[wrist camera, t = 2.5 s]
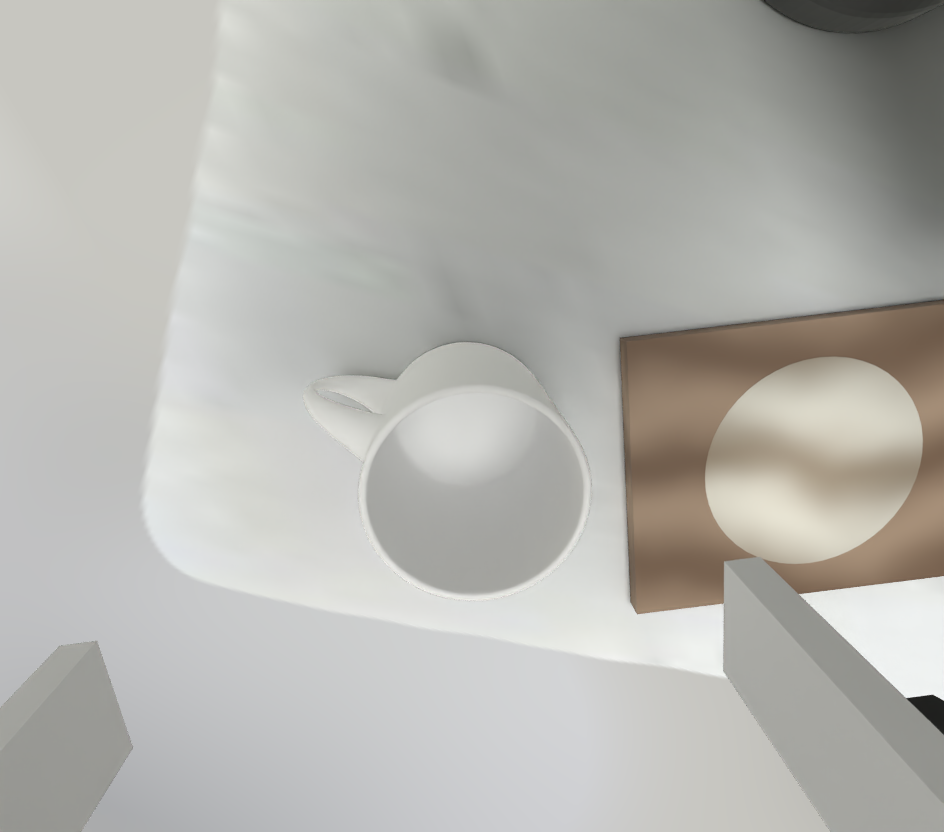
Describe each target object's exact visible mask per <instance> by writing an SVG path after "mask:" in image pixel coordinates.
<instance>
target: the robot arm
mask: <svg viewBox="0 0 944 832" xmlns="http://www.w3.org/2000/svg"><path fill="white" fill-rule="evenodd" d="M765 1H766V2H767V3H768V4H770V5H771V6H772V7H774V8H775V9H776V10H778V11H779V12H781V13H782V14H784V15H786V16H787V17H789V18H791V19H793V20H795V21H797V22H800V23H802V24H805V25H807V26H810V27H814V28H817V29H821V30H826V31H832V32H841V33H858V32H869V31H875V30H880V29H885V28H889V27H892V26H895V25H898V24H901V23H904V22H906V21H909V20H911V19H914V18H916V17H918V16H920V15H922V14H924V13H926V12H928V11H930V10H932V9H934V8H936V7H938V6H940V5H942V4H944V0H765ZM723 671H724V673H725V674H726V676H727V677H728V679H729V680H730V682H731V683H732V685H733V686H734V688H735V689H736V691H737V692H738V694H739V695H740V697H741V698H742V700H743V701H744V703H745V704H746V706H747V707H748V709H749V710H750V712H751V713H752V715H753V716H754V718H755V719H756V721H757V722H758V724H759V725H760V727H761V728H762V730H763V731H764V733H765V734H766V736H767V737H768V739H769V740H770V742H771V743H772V745H773V746H774V748H775V749H776V751H777V752H778V754H779V755H780V757H781V758H782V760H783V761H784V763H785V764H786V766H787V767H788V769H789V770H790V772H791V773H792V775H793V776H794V778H795V779H796V781H797V782H798V784H799V785H800V787H801V788H802V790H803V791H804V793H805V794H806V796H807V797H808V799H809V800H810V802H811V803H812V805H813V806H814V808H815V809H816V811H817V812H818V814H819V815H820V817H821V818H822V820H823V821H824V823H825V824H826V826H827V827H828V829H829V830H830V832H944V701H943V700H941V699H940V698H938V697H936V696H934V695H927V696H920V697H912V698H905V697H904V696H903V695H902V694H901V693H900V692H899V691H898V690H897V689H896V688H895V687H894V686H893V685H892V684H891V683H890V682H889V681H888V680H887V679H886V678H885V677H884V676H882V675H881V674H880V673H879V672H878V671H877V670H876V669H875V668H874V667H873V666H872V665H871V664H870V663H869V662H868V661H867V660H866V659H865V658H864V657H863V656H862V655H861V654H860V653H859V652H858V651H857V650H856V649H855V648H854V647H853V646H852V645H850V644H849V643H848V642H847V641H846V640H845V639H844V638H843V637H842V636H841V635H840V634H839V633H838V632H837V631H836V630H835V629H834V628H833V627H832V626H831V625H830V624H829V623H828V622H827V621H826V620H825V619H824V618H823V617H822V616H821V615H820V614H818V613H817V612H816V611H815V610H814V609H813V608H812V607H811V606H810V605H809V604H808V603H807V602H806V601H805V600H804V599H803V598H802V597H801V596H800V595H799V594H798V593H797V592H796V591H795V590H794V589H793V588H792V587H791V586H790V585H789V584H788V583H786V582H785V581H784V580H783V579H782V578H781V577H780V576H779V575H778V574H777V573H776V572H775V571H774V570H773V569H772V568H771V567H770V566H769V565H768V564H767V563H766V562H765V561H764V560H763V559H762V558H761V557H755V558H747V559H739V560H731V561H724V645H723ZM132 749H133V746H132V744H131V740H130V737H129V734H128V731H127V728H126V726H125V723H124V719H123V717H122V714H121V711H120V708H119V705H118V702H117V699H116V696H115V693H114V690H113V687H112V684H111V681H110V678H109V675H108V672H107V669H106V666H105V663H104V660H103V657H102V654H101V651H100V648H99V645H98V642H97V641H92V642H84V643H77V644H70V645H61V646H59V647H58V648H57V649H56V650H55V651H54V652H53V653H52V654H51V655H50V656H49V657H48V659H47V660H45V662H44V663H43V664H42V665H41V666H40V667H39V668H38V669H37V670H36V671H35V672H34V673H33V674H32V675H31V676H30V677H29V678H28V679H27V680H26V681H25V682H24V683H23V685H22V686H21V687H20V688H19V689H18V690H17V691H16V692H15V693H14V694H13V695H12V696H11V697H10V698H9V699H8V700H7V701H6V702H5V703H4V704H3V705H2V706H1V708H0V832H81V831H82V830H83V828H84V826H85V825H86V823H87V822H88V820H89V818H90V817H91V815H92V814H93V812H94V810H95V809H96V807H97V805H98V804H99V802H100V801H101V799H102V797H103V796H104V794H105V792H106V791H107V789H108V788H109V786H110V784H111V783H112V781H113V779H114V778H115V776H116V775H117V773H118V771H119V770H120V768H121V766H122V765H123V763H124V762H125V760H126V758H127V757H128V755H129V754H130V752H131V750H132Z"/></svg>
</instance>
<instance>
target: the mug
mask: <svg viewBox="0 0 944 832" xmlns="http://www.w3.org/2000/svg"><path fill="white" fill-rule="evenodd" d="M319 390H326V391H332V392H336V393H338V394H341V395H344V396H346V397H349V398H351V399H353V400H355V401H357V402H358V403H360V404H362V405H363V406H365V407H367V408H368V409H369V410H371V411H372V412H374V413H372V412H368V411H363V410H360V409H356V408H353V407H349V406H346V405H343V404H340V403H338V402H335V401H332V400H330V399H328V398H326V397H323V396H322V395H320V394H319V393H317V392H316V391H319ZM303 400H304V404H305V407H306V409H307V410H308V412H309V414H310V415H311V417H312V418H313V419H314V420H315V421H316V422H317V424H318V425H319V426H320V427H322V428H323V429H324V430H325V431H326V432H327V433H328V434H329V435H330V436H331V437H333V438H334V439H335V440H336V441H337V442H339V443H340V444H341V445H342V446H344V447H345V448H346V449H347V450H349V451H350V452H351V453H353V454H354V455H355V456H356V457H357V458H359V459H360V460H361V461H362V462H363V465H362V468H361V473H360V479H359V486H358V502H359V512H360V516H361V520H362V524H363V527H364V530H365V532H366V534H367V537H368V539H369V541H370V543H371V544H372V546H373V548H374V550H375V551H376V552H377V554H378V555H379V556H380V558H381V559H382V560H383V562H384V563H385V564H386V565H387V566H388V567H389V568H390V569H391V570H392V571H393V572H394V573H396V574H397V575H398V576H400V577H401V578H402V579H403V580H405V581H406V582H408V583H410V584H411V585H413V586H415V587H417V588H418V589H421V590H423V591H425V592H428V593H430V594H433V595H436V596H440V597H443V598H448V599H454V600H463V601H482V600H491V599H497V598H502V597H506V596H509V595H512V594H515V593H518V592H520V591H522V590H525V589H527V588H529V587H531V586H533V585H535V584H536V583H538V582H540V581H541V580H543V579H544V578H545V577H547V576H548V575H549V574H551V573H552V572H553V571H554V570H555V569H556V568H557V567H558V566H559V565H561V564H562V563H563V561H564V560H565V559H566V558H567V557H568V555H569V554H570V553H571V552H572V550H573V548H574V547H575V545H576V544H577V542H578V540H579V539H580V536H581V534H582V532H583V530H584V528H585V525H586V522H587V518H588V515H589V511H590V505H591V497H592V483H591V475H590V469H589V465H588V462H587V458H586V455H585V453H584V451H583V448H582V446H581V444H580V442H579V440H578V439H577V437H576V436H575V434H574V432H573V431H572V429H571V428H570V426H569V425H568V423H567V422H566V421H565V419H564V418H563V416H562V415H561V413H560V412H559V411H558V409H557V408H556V406H555V405H554V403H553V402H552V401H551V399H550V398H549V396H548V395H547V393H546V392H545V391H544V389H543V388H542V386H541V385H540V383H539V382H538V380H537V379H536V378H535V377H534V375H533V374H532V373H531V372H530V371H529V369H528V368H527V367H526V366H525V365H523V364H522V363H521V362H520V361H519V360H518V359H516V358H515V357H514V356H512V355H511V354H509V353H507V352H505V351H503V350H501V349H499V348H496V347H494V346H491V345H487V344H482V343H475V342H457V343H452V344H446V345H443V346H440V347H437V348H434V349H432V350H430V351H428V352H426V353H424V354H423V355H421V356H420V357H418V358H417V359H416V360H414V361H413V362H412V363H411V364H410V365H409V366H408V367H407V368H406V369H405V370H404V371H403V373H402V374H401V375H400V376H399V377H398V379H395V380H394V379H386V378H380V377H372V376H360V375H343V376H332V377H327V378H323V379H320V380H317V381H315V382H313V383H311V384H310V385H308V386H307V387H306V389H305V390H304V394H303Z"/></svg>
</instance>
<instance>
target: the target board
mask: <svg viewBox="0 0 944 832" xmlns="http://www.w3.org/2000/svg"><path fill="white" fill-rule="evenodd" d="M620 352H621V377H622V401H623V426H624V450H625V474H626V499H627V523H628V547H629V572H630V596H631V604H632V606H633V607H634V609H635V611H636V613H637V614H642V613H650V612H658V611H666V610H674V609H682V608H690V607H699V606H707V605H715V604H723V603H724V561H731V560H739V559H747V558H755V557H761V558H762V559H763V560H764V561H765V562H766V563H767V564H768V565H769V566H770V567H771V568H772V569H773V570H774V571H775V572H776V573H777V574H778V575H779V576H780V577H781V578H782V579H783V580H784V581H785V582H786V583H788V584H789V585H790V586H791V587H792V588H793V589H794V590H795V591H796V592H797V593H798V594H803V593H811V592H819V591H827V590H835V589H843V588H851V587H859V586H867V585H875V584H883V583H891V582H899V581H907V580H915V579H924V578H932V577H940V576H944V300H939V301H930V302H922V303H913V304H905V305H896V306H888V307H879V308H871V309H863V310H854V311H846V312H837V313H829V314H820V315H812V316H803V317H795V318H786V319H778V320H769V321H761V322H752V323H744V324H735V325H727V326H718V327H710V328H701V329H693V330H684V331H676V332H667V333H659V334H651V335H642V336H634V337H625V338H620Z"/></svg>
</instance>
